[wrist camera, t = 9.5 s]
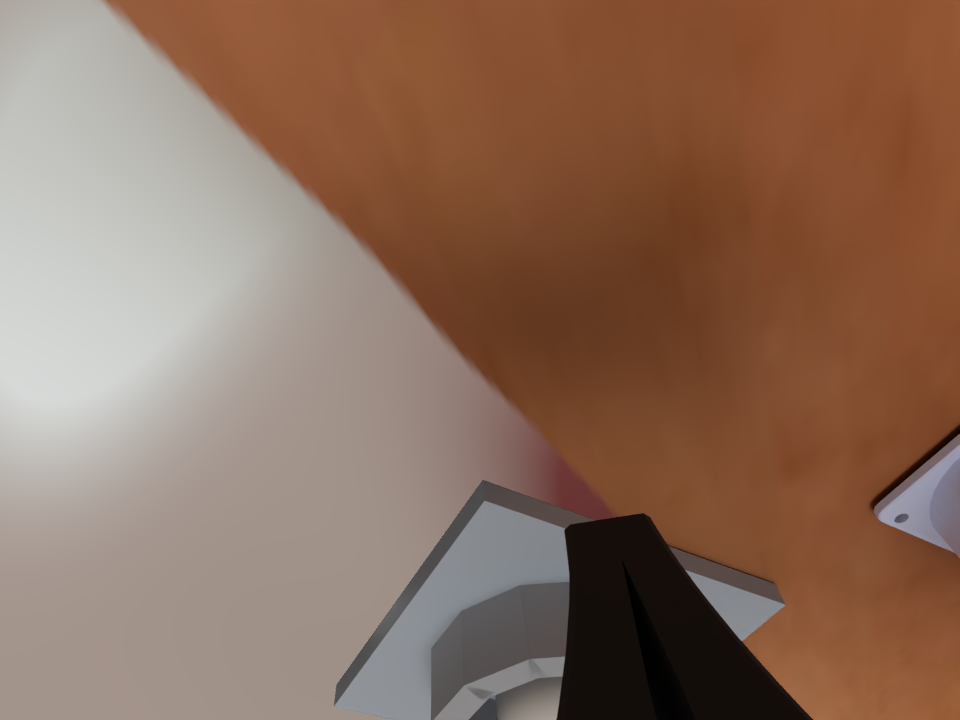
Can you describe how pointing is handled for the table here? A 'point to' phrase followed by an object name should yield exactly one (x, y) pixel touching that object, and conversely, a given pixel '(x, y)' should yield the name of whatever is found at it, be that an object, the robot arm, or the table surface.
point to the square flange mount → (500, 613)
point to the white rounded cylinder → (530, 700)
